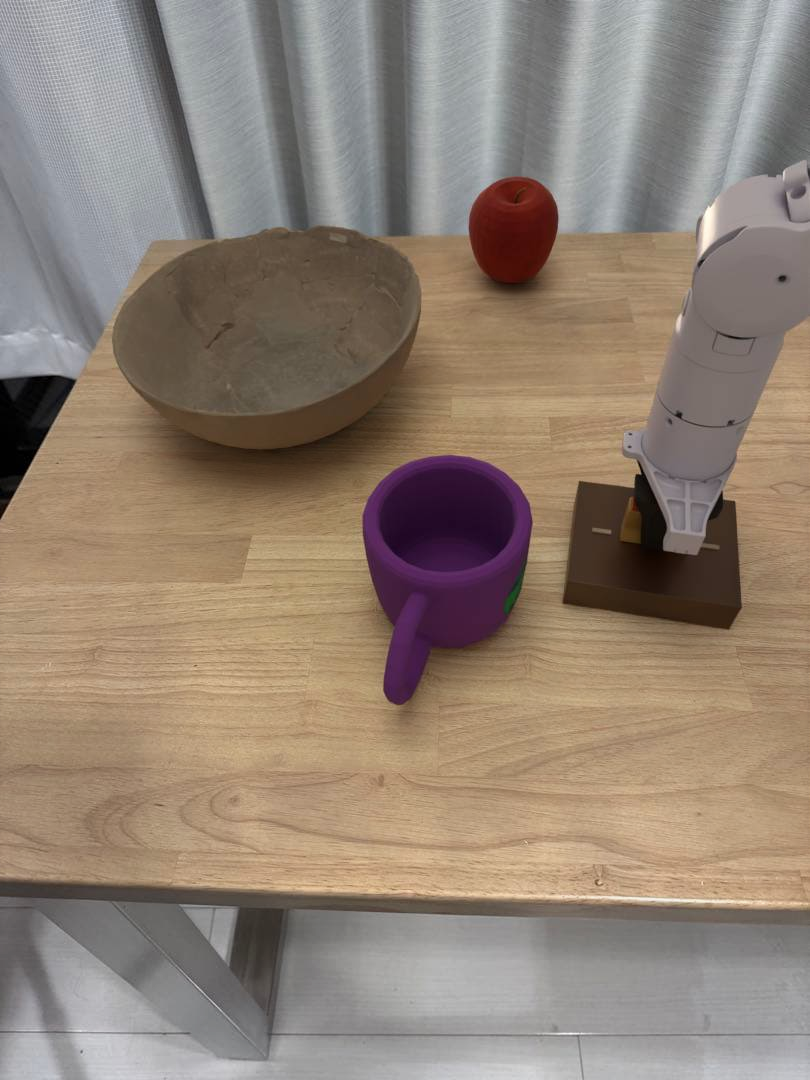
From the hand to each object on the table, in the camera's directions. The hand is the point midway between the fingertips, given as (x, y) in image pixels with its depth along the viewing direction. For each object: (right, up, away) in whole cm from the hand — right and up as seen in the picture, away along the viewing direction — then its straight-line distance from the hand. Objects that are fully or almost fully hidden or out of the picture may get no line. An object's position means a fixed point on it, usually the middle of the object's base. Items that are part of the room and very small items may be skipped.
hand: (655, 535), depth 54 cm
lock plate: (0, -2, +3) cm, 3 cm away
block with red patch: (0, 0, 0) cm, 0 cm away
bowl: (-30, +14, +18) cm, 38 cm away
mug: (-16, -7, 0) cm, 18 cm away
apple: (-7, +30, +28) cm, 41 cm away
